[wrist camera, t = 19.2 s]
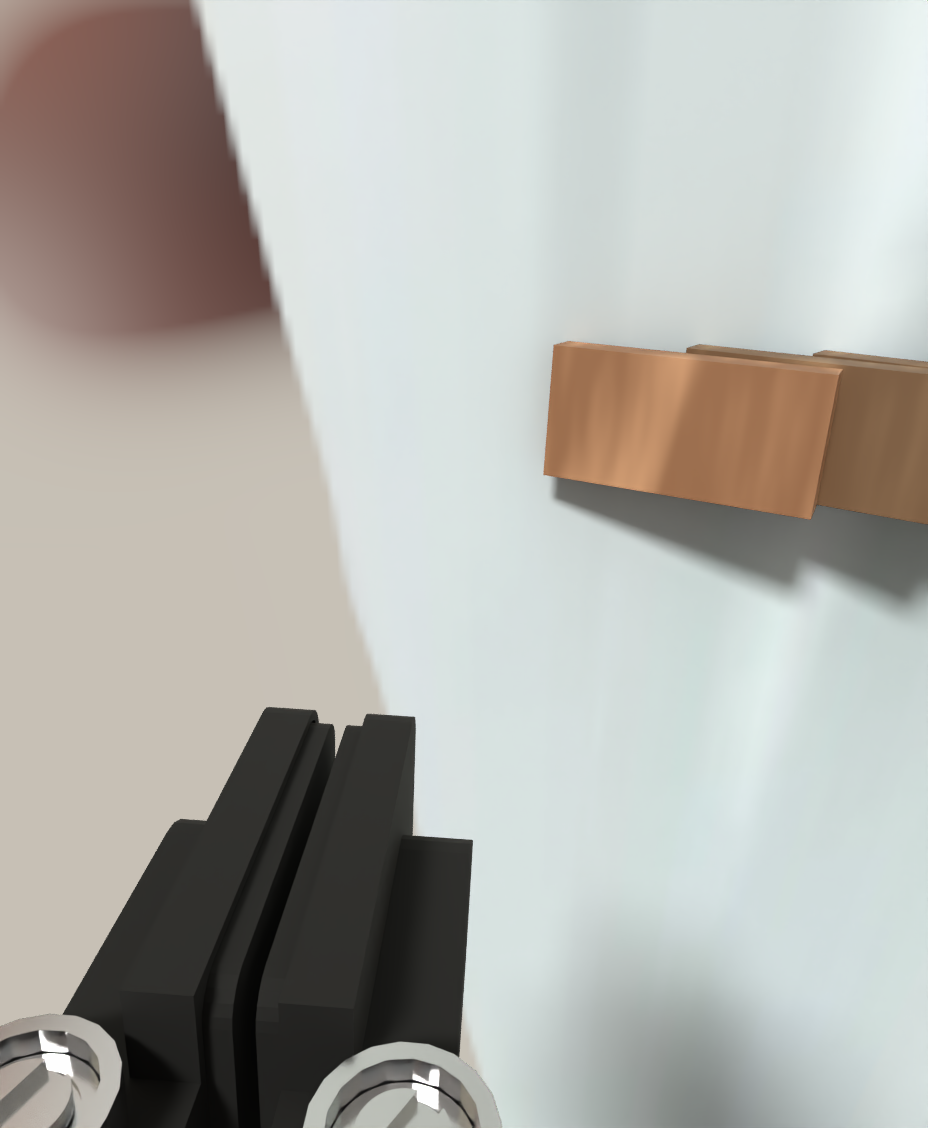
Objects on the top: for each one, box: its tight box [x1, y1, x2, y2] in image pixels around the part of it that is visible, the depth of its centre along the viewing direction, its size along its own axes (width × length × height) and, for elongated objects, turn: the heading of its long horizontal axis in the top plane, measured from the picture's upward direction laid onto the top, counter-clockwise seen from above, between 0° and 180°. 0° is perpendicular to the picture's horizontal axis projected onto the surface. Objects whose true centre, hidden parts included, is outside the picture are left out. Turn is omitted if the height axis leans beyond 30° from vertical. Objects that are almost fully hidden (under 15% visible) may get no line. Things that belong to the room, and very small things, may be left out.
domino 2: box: [686, 344, 928, 524], centre depth 32 cm, size 2×5×10 cm
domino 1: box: [543, 341, 843, 520], centre depth 33 cm, size 2×5×10 cm
